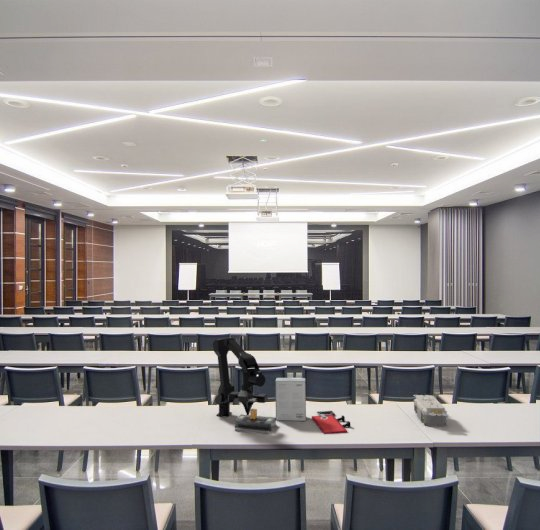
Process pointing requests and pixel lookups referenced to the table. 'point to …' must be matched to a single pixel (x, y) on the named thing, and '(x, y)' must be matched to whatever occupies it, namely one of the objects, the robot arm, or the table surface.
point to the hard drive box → (290, 399)
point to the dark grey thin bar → (251, 430)
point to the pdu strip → (256, 422)
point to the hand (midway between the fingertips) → (247, 414)
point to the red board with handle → (330, 422)
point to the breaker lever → (253, 413)
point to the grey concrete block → (430, 410)
